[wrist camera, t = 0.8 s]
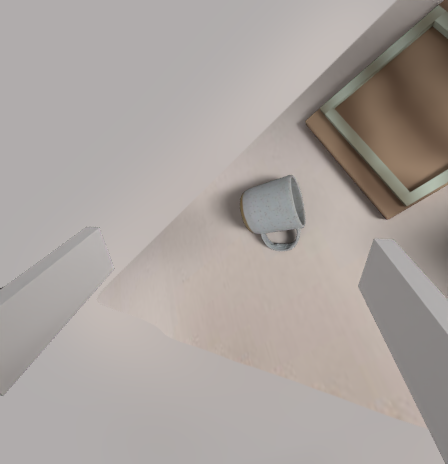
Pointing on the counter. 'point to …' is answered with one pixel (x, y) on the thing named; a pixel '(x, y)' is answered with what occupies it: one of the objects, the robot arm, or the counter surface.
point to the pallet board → (394, 119)
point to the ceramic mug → (274, 209)
